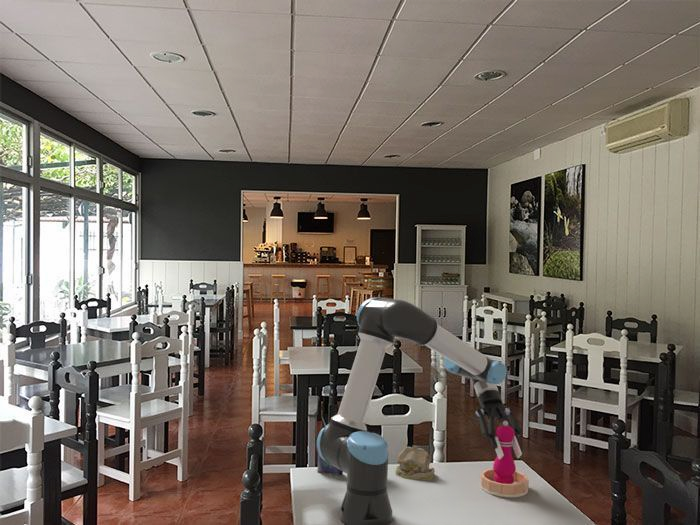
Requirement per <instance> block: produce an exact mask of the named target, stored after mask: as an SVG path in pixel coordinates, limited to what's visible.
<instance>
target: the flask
mask: <svg viewBox="0 0 700 525" xmlns="http://www.w3.org/2000/svg"><path fill="white" fill-rule="evenodd" d="M316 471H317V472H318V473H320V474H326V475H334V474H335V475H334V476H343V475H342V474H344V472H343V471H341V470H339V469H338V468H336V467H334V466H331V465H329V464H328V463H327V462H326V461H325V460H323V459H322V458H321V456H320V455H319V453H318V452H317V468H316Z"/></svg>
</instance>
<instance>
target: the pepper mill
mask: <svg viewBox="0 0 700 525" xmlns="http://www.w3.org/2000/svg"><path fill="white" fill-rule="evenodd" d="M514 436H515V433H514V430H513V428H512V427H510V426H508V422H507V421H503V424H501V425H499V426H498V427H497V428H496V430H495V437H498V440H499V443H500V446H501V448H502V451H503V454H504V456H503V457H502V458H501V459H498V456H497V455H496V458H495V459H494V462H493V466H492V469H494V471H495V473H496V474H495V475H494V480H495V482H498V483H502V484H513V483H514V476H513V474H514V473H515V471H517V470H516V469H517V468H516V463H515V460H514V458H513V456H512V447H513V441H512V439H513V438H514Z"/></svg>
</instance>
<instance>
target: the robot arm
mask: <svg viewBox="0 0 700 525" xmlns="http://www.w3.org/2000/svg"><path fill="white" fill-rule="evenodd" d="M356 321H357V325H358V327H359V329H358V333H357V335H358V337H359V339H360V340H359V341H360V342H359V345H358V348H357V352H356V355H355V358H354V361H353V364H352V365H351V366H352V367H351V371H350V373H349V377H348V380H347V383H346V385H345V389H344V392H343V396H342V398H341V402H340V404H339V408H338V411H337V414H335V415H333V416H331V418H330V421H329V423H328V424H326V425H325V426H324V427H323V428H322V429H321V430H320V431H319V432H318V436H317V438H316V450H317V454H318V453H319V455H320V456H321V458H322V459H323V460H325V461H326V462H327V463H328V464H329V465H331V466H334V467H336V468H338V469H339V470H341V471H343V473H344V474H346V491H345V494H344V496H343V500H342V503H341V505H340V509H339V511H340V512H339V519H340V521H341V522H342V523H343V524H345V525H390V524H391V523H392V521H393V508H392V505H391V502H390V498H389V494H388V473H389V472H388V470H389V455H390V453H389V446H388V441H387V440H386V439H385V437H383V436H382V435H380V434H378V433H375V432H370V431H368V428H367V426H366V427H365V424H366V423H365V420H366V416H367V413H368V410H369V406H370V404H371V400H372V396H373V394H374V390H375V387H376V384H377V380H378V377H379V376H380V375H379V374H380V371H381V367H382V365H383V361H384V357H385V354H386V351H387V349H388V348H389V347H391V346H393V344H394V342H395V339H396V338H397V339H402V340H406V341H410V342H411V343H412V342H413V343H414V344H416V345H418V346H419V347H420V346H421V347H422V346H425V347H427V348H428V349H430V350H432V351H433V352H436V353H437V354H439V355H441V356H442V357H443V358H444V360H443V365H444V369H445V370H446V371H447V372H449V373H451V374H453V375H456V376H457V375H458V376H460V377H462V378H463V377H464V378H466V379H470V380H471V381H472V384H473V387H474V390H475V393H476V396H477V399H478V400H477V401H478V402H479V406H480V407H481V408H477V409H476V411H475V413H474V415H475V416H476V418H477V419H478V420H477V421H478V424H479V429H480V430H481V434H482V438H483V439H484V440H486V439H487V441H488V442H489V443H490V445H491V447H492V449H493V450H495V453H496V457H497V456H498V459H501V458H502V457H503V456H504V454H503V451H502V448H501V446H500V443H499V440H498V437H497V436H496V430H495V420H496V421H497V420H498V422H499V423H501V425H503V421H507V422H508V426H510V427H512V428H513V430H514V433H515V436H514V438H513V439H512V441H513V446H512V449H513V452H514V455H515V458H516V459H520V458H521V457H522V455H523V452H522V450H521V447H520V446H521V442H520V439H519V437H520V436H521V435H522V433H523V432H522V429H521V427H520V425H519V423H518V420H517V417H516V416H515V412H514V408H513V407H508V408H507V407H506V406H505V405H504V404H503V399H502V397H501V394H500V392H499V389H498V386H497V385H500V384H502V383H503V382H504V381H505V379H506V377H507V368H506V365H505V364H504V362H500V361H498V360H496V359H495V360H494V359H491V358H490V357H488V356H486V355H485V354H483V353H482V352H480V351H478V350H477V349H475V348H474V347H472V346H471V345H469V344H468V343H466V342H465V341H463V340H462V339H460V338H459V337H457V336H456V335H454V334H453V333H452V332H450V331H448V330H446V329H445V328H444V327H442V326H440V325H439V324H438V321H437V319H436V318H434V317H433V316H431V315H430V314H429V313H427V312H426V311H424V310H423V309H421V308H420V307H418V306H416V305H415V304H413V303H411V302H409V301H406V300H403V299H394V298H388V297H382V296H381V297H371V298H368V299H367V300H366V299H365V300H364V301H363V302H362V304H360V306H359V308H358V310H357V312H356ZM485 416H486V418H487V420H486V418H485ZM364 423H365V424H364ZM366 428H367V429H366Z"/></svg>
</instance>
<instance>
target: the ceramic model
mask: <svg viewBox="0 0 700 525" xmlns="http://www.w3.org/2000/svg"><path fill="white" fill-rule="evenodd" d="M397 464H399V465H398V466H396V469H395V475H396V474H398V475H399V476H398V475H397V476H398V477H400V476H401V477H400V478H403V477H404V478H403V479H409V478H412V479H411V480H418V479H423V480H422V481H429V480H432V479H433V478H434V477H435V472H436V471H435V467H434V468H433V467H431V468H430V465H431V461H430V455H429V453H428V451H425V449H424V448H421V447H418V445H414V444H413V445H412V447H411V446H405V447H404V449H402V451H401V452H399V453H398V456H397Z"/></svg>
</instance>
